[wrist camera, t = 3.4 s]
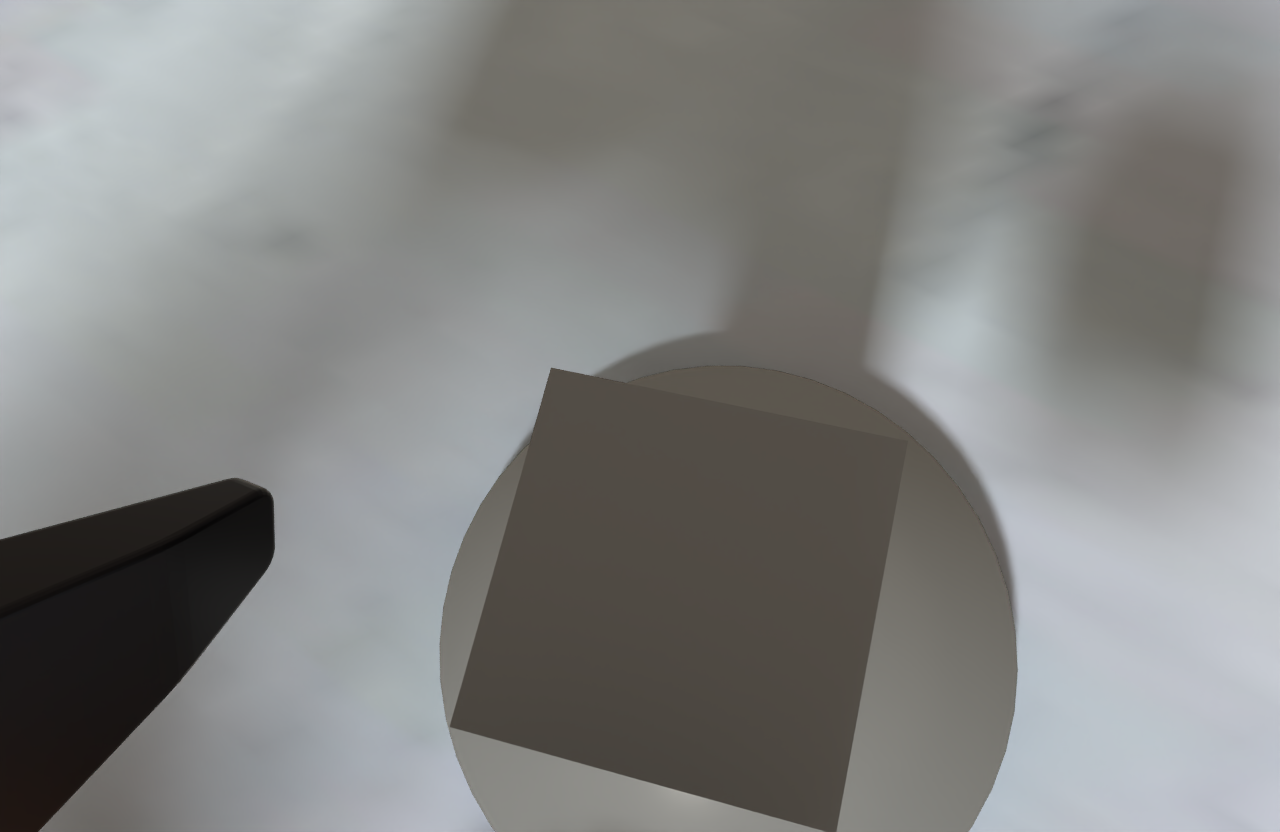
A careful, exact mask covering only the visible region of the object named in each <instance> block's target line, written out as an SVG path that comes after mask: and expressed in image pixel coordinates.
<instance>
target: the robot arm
mask: <svg viewBox="0 0 1280 832" xmlns="http://www.w3.org/2000/svg"><path fill="white" fill-rule="evenodd" d="M274 550H275V532H274V501H273V497H272V495H271V493H270V492H269V491H268V490H267V489H265V488H263V487H260V486H258V485H255V484H253V483H250V482H248V481H246V480H243V479H239V478H231V479H226V480H222V481H218V482H215V483H211V484H207V485H203V486H200V487H196V488H192V489H188V490H185V491H181V492H177V493H173V494H170V495H166V496H162V497H158V498H154V499H151V500H147V501H143V502H139V503H136V504H132V505H128V506H124V507H121V508H117V509H113V510H109V511H106V512H102V513H98V514H94V515H91V516H87V517H83V518H79V519H76V520H72V521H68V522H64V523H61V524H57V525H53V526H49V527H46V528H42V529H38V530H34V531H31V532H27V533H23V534H19V535H16V536H12V537H8V538H4V539H1V540H0V832H38V831H39V830H40V829H41V828H42V827H43V826H44V825H45V824H46V823H47V822H48V821H49V820H50V819H51V818H52V817H53V815H54V814H55V813H56V812H57V811H58V810H59V809H60V808H61V807H62V806H63V805H64V804H65V803H66V802H67V801H68V800H69V799H70V798H71V796H72V795H73V794H74V793H75V792H76V791H77V790H78V789H79V788H80V787H81V786H82V785H83V784H84V783H85V782H86V781H87V780H88V779H89V777H90V776H91V775H92V774H93V773H94V772H95V771H96V770H97V769H98V768H99V767H100V766H101V765H102V764H103V763H104V762H105V761H106V760H107V758H108V757H109V756H110V755H111V754H112V753H113V752H114V751H115V750H116V749H117V748H118V747H119V746H120V745H121V744H122V743H123V742H124V741H125V739H126V738H127V737H128V736H129V735H130V734H131V733H132V732H133V731H134V730H135V729H136V728H137V727H138V726H139V725H140V724H141V723H142V722H143V721H144V719H145V718H146V717H147V716H148V715H149V714H150V713H151V712H152V711H153V710H154V709H155V708H156V707H157V706H158V705H159V704H160V703H161V702H162V700H163V699H164V698H165V697H166V696H167V695H168V694H169V693H170V692H171V691H172V689H173V688H174V687H175V686H176V685H177V684H178V683H179V682H180V681H181V679H182V678H183V677H184V676H185V675H186V673H187V672H188V671H189V670H190V668H191V667H192V666H193V665H194V664H195V662H196V661H197V660H198V658H199V657H200V656H201V655H202V653H203V652H204V651H205V649H206V648H207V647H208V645H209V644H210V643H211V642H212V640H213V639H214V638H215V636H216V635H217V634H218V633H219V631H220V630H221V629H222V627H223V626H224V625H225V623H226V622H227V621H228V620H229V618H230V617H231V616H232V614H233V613H234V612H235V611H236V609H237V608H238V607H239V605H240V604H241V603H242V601H243V600H244V599H245V598H246V596H247V595H248V594H249V592H250V591H251V590H252V588H253V587H254V586H255V585H256V583H257V582H258V581H259V579H260V578H261V577H262V576H263V574H264V573H265V572H266V570H267V569H268V567H269V565H270V563H271V561H272V558H273V555H274Z"/></svg>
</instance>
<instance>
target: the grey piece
mask: <svg viewBox="0 0 1280 832" xmlns="http://www.w3.org/2000/svg"><path fill="white" fill-rule="evenodd" d="M1017 672H1018V669H1017V651H1016V634H1015V626H1014V621H1013V616H1012V610H1011V605H1010V600H1009V594H1008V590H1007V587H1006V584H1005V581H1004V578H1003V575H1002V572H1001V569H1000V566H999V563H998V560H997V557H996V554H995V552H994V550H993V547H992V545H991V543H990V541H989V539H988V537H987V535H986V533H985V531H984V528H983V526H982V524H981V522H980V520H979V518H978V517H977V515H976V514H975V512H974V510H973V509H972V507H971V506H970V504H969V503H968V501H967V499H966V498H965V496H964V495H963V493H962V492H961V490H960V489H959V487H958V486H957V485H956V483H955V482H954V481H953V480H952V479H951V477H950V476H949V475H948V474H947V473H946V471H945V470H944V469H943V468H942V467H941V465H940V464H939V463H938V462H937V461H936V459H935V458H934V457H933V456H932V455H931V454H930V453H929V452H927V451H926V450H925V449H924V448H923V447H922V446H921V445H920V444H919V443H918V442H917V441H916V440H915V439H914V438H912V437H911V436H910V435H909V434H908V433H907V432H906V431H904V430H903V429H902V428H900V427H899V426H898V425H896V424H895V423H893V422H892V421H891V420H889V419H888V418H886V417H885V416H884V415H882V414H881V413H880V412H878V411H877V410H875V409H873V408H871V407H869V406H868V405H866V404H864V403H862V402H860V401H859V400H857V399H855V398H853V397H851V396H850V395H848V394H846V393H844V392H841V391H839V390H836V389H834V388H831V387H829V386H826V385H824V384H821V383H819V382H816V381H814V380H811V379H807V378H803V377H799V376H795V375H791V374H788V373H784V372H780V371H775V370H767V369H760V368H752V367H745V366H703V367H694V368H686V369H677V370H671V371H667V372H663V373H659V374H655V375H650V376H646V377H642V378H639V379H636V380H633V381H631V382H628V383H623V382H618V381H613V380H608V379H603V378H599V377H594V376H589V375H584V374H579V373H574V372H569V371H564V370H560V369H555V368H551V370H550V374H549V377H548V381H547V384H546V388H545V391H544V395H543V398H542V402H541V405H540V409H539V412H538V416H537V420H536V423H535V427H534V430H533V434H532V437H531V441H530V444H528V445H527V446H526V447H525V448H524V449H523V450H522V451H521V452H520V453H519V455H518V456H517V457H516V458H515V459H514V460H513V461H512V463H511V464H510V465H509V466H508V467H507V468H506V470H505V471H504V472H503V473H502V474H501V475H500V477H499V478H498V480H497V481H496V482H495V484H494V485H493V487H492V488H491V490H490V491H489V493H488V494H487V496H486V497H485V499H484V500H483V502H482V503H481V505H480V507H479V509H478V510H477V512H476V514H475V516H474V518H473V520H472V522H471V524H470V526H469V528H468V530H467V532H466V534H465V536H464V538H463V541H462V544H461V547H460V549H459V552H458V555H457V558H456V561H455V563H454V566H453V569H452V572H451V576H450V580H449V585H448V589H447V594H446V598H445V602H444V607H443V616H442V626H441V636H440V681H441V688H442V695H443V702H444V709H445V715H446V721H447V724H448V728H449V732H450V735H451V739H452V742H453V746H454V750H455V753H456V757H457V759H458V761H459V764H460V766H461V769H462V771H463V773H464V776H465V778H466V780H467V783H468V785H469V788H470V790H471V792H472V794H473V796H474V798H475V799H476V801H477V803H478V804H479V806H480V808H481V810H482V811H483V813H484V815H485V816H486V818H487V820H488V822H489V823H490V825H491V827H492V828H493V829H494V831H495V832H968V831H969V830H970V828H971V827H972V826H973V824H974V822H975V820H976V818H977V816H978V814H979V813H980V811H981V809H982V807H983V805H984V803H985V801H986V799H987V798H988V796H989V794H990V792H991V790H992V788H993V785H994V782H995V779H996V777H997V774H998V771H999V768H1000V766H1001V763H1002V760H1003V757H1004V755H1005V752H1006V748H1007V744H1008V739H1009V734H1010V730H1011V725H1012V720H1013V716H1014V711H1015V698H1016V685H1017Z"/></svg>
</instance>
